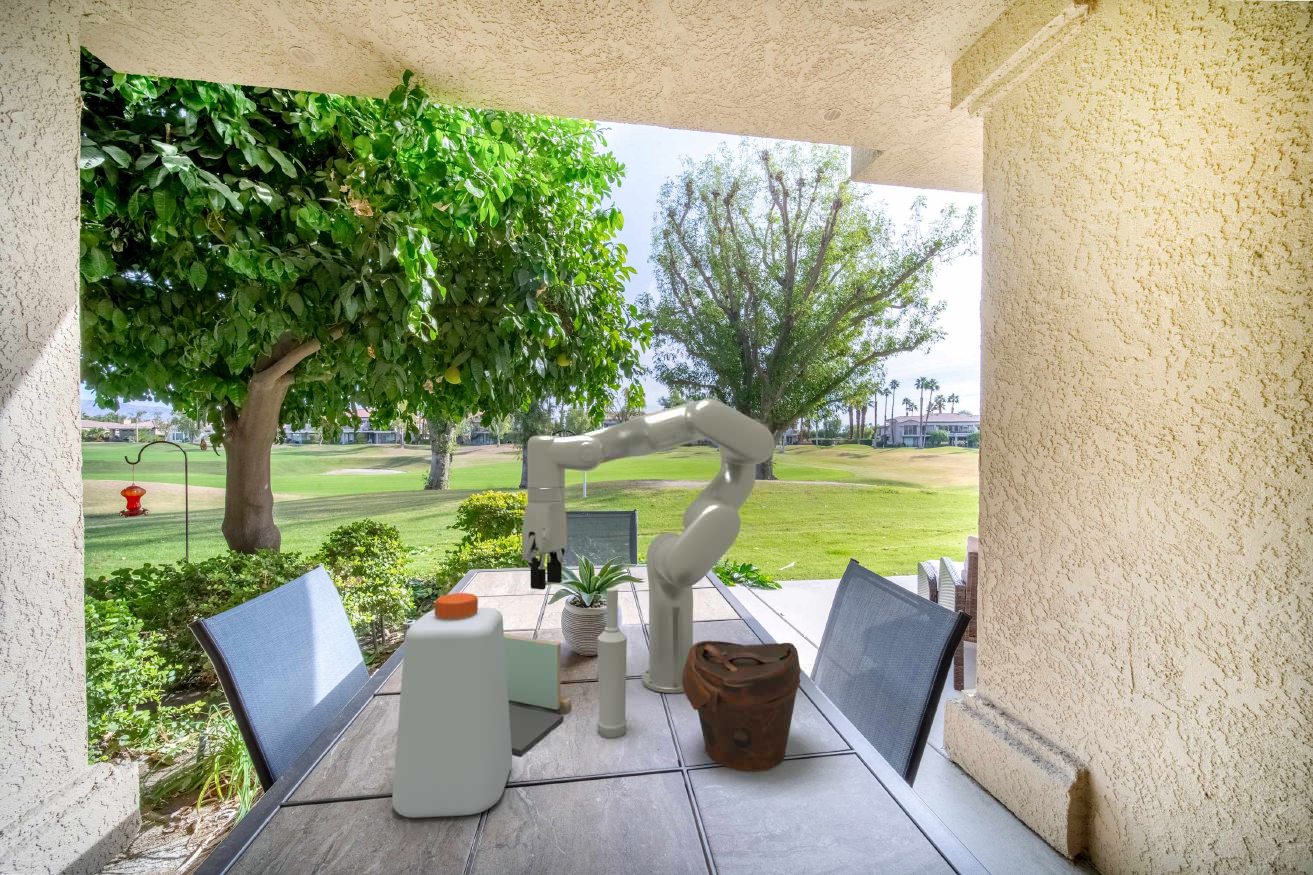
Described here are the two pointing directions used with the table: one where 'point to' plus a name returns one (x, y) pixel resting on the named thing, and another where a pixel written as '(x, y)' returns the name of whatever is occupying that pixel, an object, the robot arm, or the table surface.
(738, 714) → the case
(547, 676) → the tile
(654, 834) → the table surface
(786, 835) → the table surface
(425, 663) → the plastic bottle
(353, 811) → the table surface
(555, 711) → the tile stand
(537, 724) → the rubber mat
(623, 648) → the bottle
